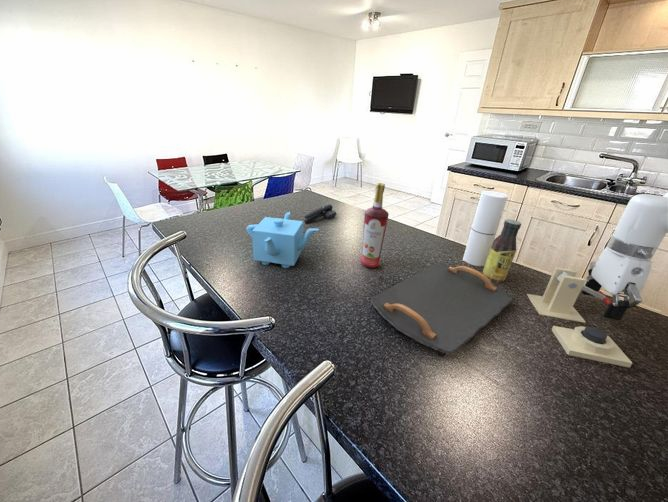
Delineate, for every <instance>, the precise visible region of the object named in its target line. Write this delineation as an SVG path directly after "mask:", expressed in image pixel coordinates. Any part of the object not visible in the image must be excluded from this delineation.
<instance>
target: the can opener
mask: <svg viewBox="0 0 668 502" xmlns="http://www.w3.org/2000/svg"><path fill="white" fill-rule="evenodd" d="M336 215H337V212H336V211H335V210H333V205H332V204H327V205H321V207H319V208H316V209H314V210H312V211H311V212H308V213H307V214H305V215H304V220H303V223H305V224H309V223H312V222H314V221H316V220H317V219H319V218H321V217H323V218H325V219H327V220H329V219H330V220H331V219H332V218H334V217H335V216H336Z"/></svg>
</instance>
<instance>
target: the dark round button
mask: <svg viewBox="0 0 668 502" xmlns="http://www.w3.org/2000/svg"><path fill="white" fill-rule="evenodd" d="M585 327H586V328H585V329H584V331H583V333H582V335H583V336H584V337H585V338H587V339H588V340H590V341H592V342H594V343H598V344H603V343H604V342H605V340H606V338H607V336H608V335H607V333H605V332H604V331H603V330H601V329H599V328H597V327H593V326H585Z"/></svg>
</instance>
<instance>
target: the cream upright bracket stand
mask: <svg viewBox="0 0 668 502" xmlns="http://www.w3.org/2000/svg"><path fill="white" fill-rule="evenodd" d="M563 272H566V273H568V274H570V275H572V276H574V277H571V276H564V275H563V276H562V278H561V280H560V281H559V280H558V279H557V277H558V276H559V275H560V274H562V273H563ZM577 273H578V272H577V271H576V269H570V268H562V267H554V270H553V272H552V274H551V276H550V278H549V281H548V283H547V285H546V288H545V290H544V292H543V295H536V294H530V293H526V296H527V298H528V299H529V301H530V302H531V304H532V306H533V307H534V308H535V310H536V312H537V313H538V314H539V316H545V317H549V318H556V319H561V320H566V321H571V322H578V323H581V324H586V323H587V321H586V320H585V319H584V318H583V316H582V315H581V314H580V313H579V312H578V311H577V310H576V308H575V307H574V305H575V304H576V301H577V299H578V297H579V295H580V294H581V292H582V287H583V285H584V286H585V284H586V282H587V279H585V278H583V277H577V276H576V275H577Z"/></svg>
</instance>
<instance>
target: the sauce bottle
mask: <svg viewBox="0 0 668 502" xmlns="http://www.w3.org/2000/svg"><path fill="white" fill-rule="evenodd" d="M521 227H522V222H520V221H519V220H514V219H510V218H509V219H505V220H504V223H503V228H502V230H501V232H500V234H499V235H498V236H496V237H495V239H494V242H493V245H492V247H491V249H490V252H489V255H488V258H487V260H486V263H485V266H483V269H482V274H484V275H485V276H487V277H488V278H489V280H490V281H491V283H496V284H503V283H504V282H505V280H506V278H507V276H508V273H509V270H510V269H511V266H512V263H513V260H514V258H515V256H516V253H517V237H518V233H519V230H520V229H521Z"/></svg>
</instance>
